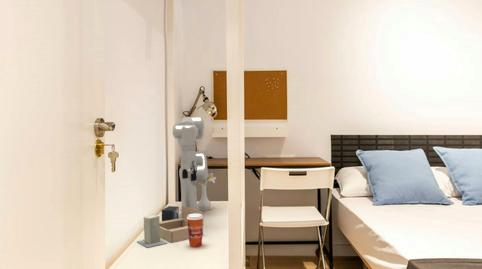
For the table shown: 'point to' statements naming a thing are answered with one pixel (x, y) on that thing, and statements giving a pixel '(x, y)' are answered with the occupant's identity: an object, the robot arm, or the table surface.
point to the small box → (170, 213)
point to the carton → (177, 226)
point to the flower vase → (204, 202)
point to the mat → (151, 243)
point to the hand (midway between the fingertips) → (189, 179)
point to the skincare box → (151, 229)
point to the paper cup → (195, 229)
